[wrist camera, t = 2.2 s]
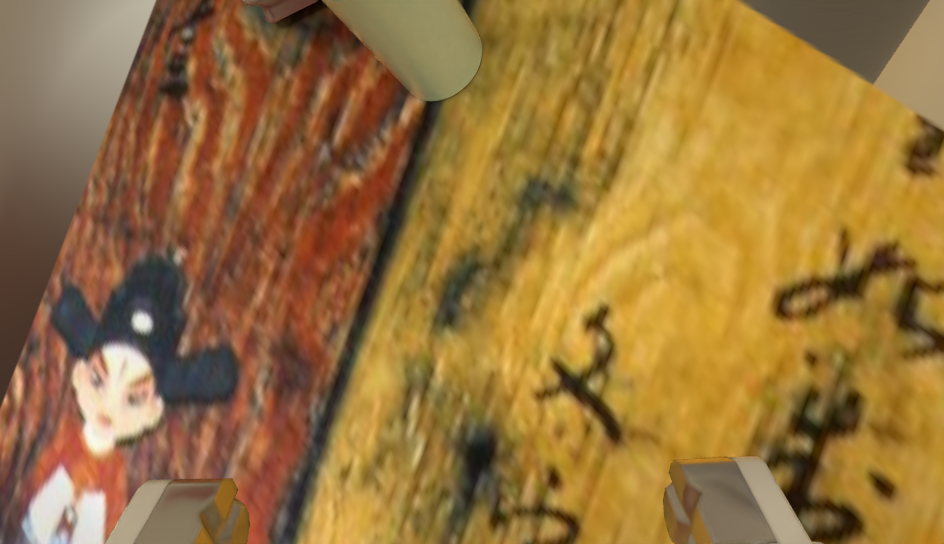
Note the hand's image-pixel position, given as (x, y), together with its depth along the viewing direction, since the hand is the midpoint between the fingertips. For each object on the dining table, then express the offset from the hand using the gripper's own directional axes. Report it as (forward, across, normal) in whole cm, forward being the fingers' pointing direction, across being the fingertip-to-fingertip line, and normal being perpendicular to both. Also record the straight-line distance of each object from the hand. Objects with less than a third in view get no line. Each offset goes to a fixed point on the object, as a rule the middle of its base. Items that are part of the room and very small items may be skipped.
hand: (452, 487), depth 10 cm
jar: (+30, +1, -2) cm, 30 cm away
